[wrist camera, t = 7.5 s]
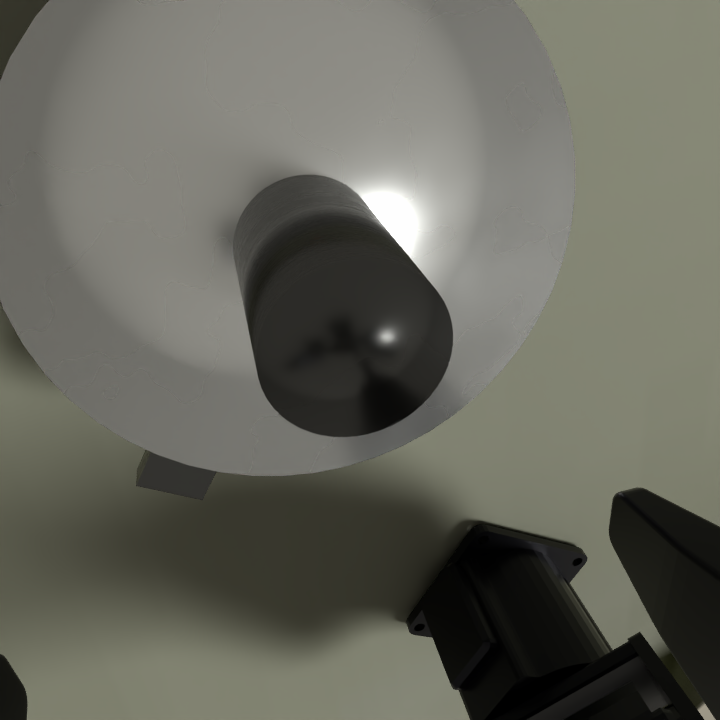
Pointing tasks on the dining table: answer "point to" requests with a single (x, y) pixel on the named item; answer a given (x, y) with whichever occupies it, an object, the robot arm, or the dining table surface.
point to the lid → (279, 217)
